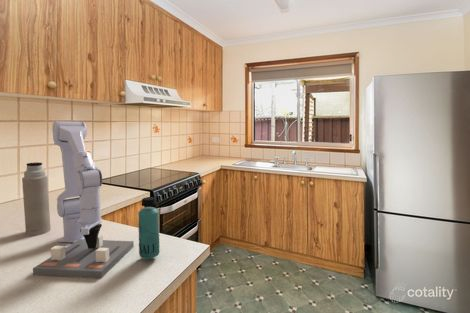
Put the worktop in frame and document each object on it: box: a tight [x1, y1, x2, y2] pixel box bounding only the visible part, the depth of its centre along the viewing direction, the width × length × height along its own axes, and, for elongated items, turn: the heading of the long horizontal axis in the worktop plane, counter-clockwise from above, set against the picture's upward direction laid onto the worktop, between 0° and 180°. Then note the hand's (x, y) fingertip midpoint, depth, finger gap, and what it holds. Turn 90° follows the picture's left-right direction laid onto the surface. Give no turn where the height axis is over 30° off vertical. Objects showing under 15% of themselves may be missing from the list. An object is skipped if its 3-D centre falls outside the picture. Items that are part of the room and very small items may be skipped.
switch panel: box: [32, 239, 135, 279], centre depth 83 cm, size 20×20×6 cm
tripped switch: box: [96, 234, 104, 248], centre depth 87 cm, size 2×3×4 cm, turn 86°
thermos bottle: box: [21, 161, 52, 236], centre depth 104 cm, size 8×8×28 cm
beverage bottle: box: [137, 196, 160, 260], centre depth 83 cm, size 6×7×20 cm
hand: (92, 247), depth 85 cm, fingers closed
